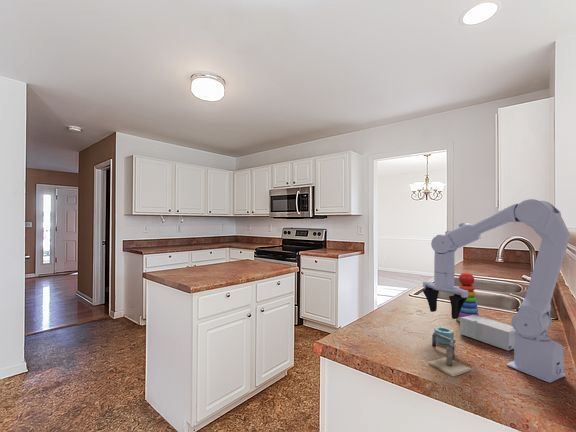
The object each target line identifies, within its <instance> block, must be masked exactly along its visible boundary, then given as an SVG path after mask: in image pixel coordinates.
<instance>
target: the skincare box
mask: <svg viewBox="0 0 576 432" xmlns="http://www.w3.org/2000/svg"><path fill="white" fill-rule="evenodd" d="M459 323H460V324H459V335H462V336H464V337H469V338H471V339H474V340H477V341H480V342H481V343H485V344H488V345H490V346H494V347H497V348H499V349H502V350H505V351H507V352H508V351H511V350H514V328H513V326H512V325H510V324H506V323H504V322H500V321H497V320H494V319H490V318H486V317H482V316H480V315H479V316H476V315H471V316H466V317H461V318H460V322H459Z"/></svg>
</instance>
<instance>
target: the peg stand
mask: <svg viewBox="0 0 576 432" xmlns="http://www.w3.org/2000/svg"><path fill="white" fill-rule="evenodd" d="M445 352H446V353H445V355H446V356H444V357H440V358H438V359H437V358H436V359H434V360H431V361H430V360H429V361H428V365H430V366H432V368H433V367H434V368H436V369H437V370H440V371H441V372H443V373H445V374H446V375H449V376H452V377H457V376H459V375H462V374H464V373H468V372H470V371H472V368H471V367H469V366H467V365H465V364H462V363H461V362H458V361H457V360H455V359H454V360H452V348H451V347H450V346H446V351H445Z"/></svg>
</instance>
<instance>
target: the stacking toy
mask: <svg viewBox="0 0 576 432" xmlns="http://www.w3.org/2000/svg"><path fill="white" fill-rule="evenodd" d="M458 280H459V283H460V285H459V286H458V288H460V289H463V290H467V291H468V297H467V300H466V301H465V302H464V304H463V306H462V308H461V310H460V313H459V317H458V318H457V319H455V320H456V321H457V322H459V323H460V318H461V317H466V316H471V315H476V316H479V317H480V313H478V312H479V307H478V302H477V297H475V296H476V292H475V286H474V285H473V284H474V283H475V277H474V275H473V274H472V273H470V272H462V273H460V274H459V276H458Z"/></svg>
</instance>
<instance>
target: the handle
mask: <svg viewBox="0 0 576 432" xmlns="http://www.w3.org/2000/svg"><path fill="white" fill-rule="evenodd" d="M436 337H438V338H441V339H443V340H446V341H448V342H450V344H449V347H451V348H452V360H454V361H455V344H456V340H455V339H450V338H448V337H445V336H443V335H440V334H438V333H434V332H433V333H432V334H431V346H433V347H436V346H437V345H436V343H437V341H436Z"/></svg>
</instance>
